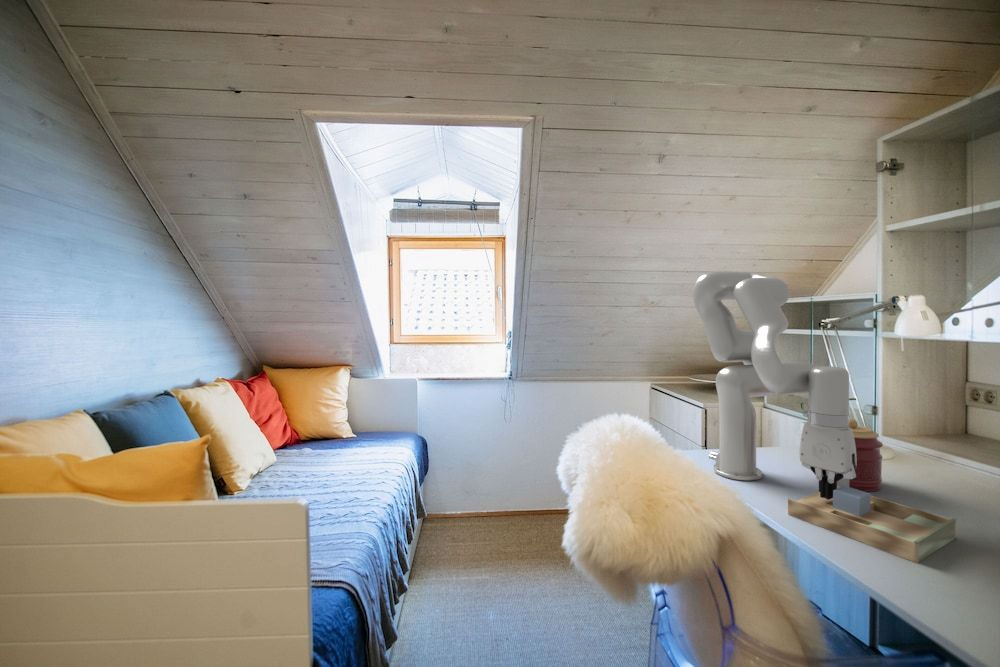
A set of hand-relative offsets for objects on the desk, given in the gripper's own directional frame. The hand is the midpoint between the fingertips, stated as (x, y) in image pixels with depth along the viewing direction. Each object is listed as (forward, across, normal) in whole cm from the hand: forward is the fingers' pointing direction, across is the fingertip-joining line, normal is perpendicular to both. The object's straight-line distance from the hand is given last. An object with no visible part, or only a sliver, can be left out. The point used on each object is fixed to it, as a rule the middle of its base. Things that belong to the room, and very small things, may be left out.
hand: (827, 497), depth 103 cm
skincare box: (+4, -5, +14) cm, 15 cm away
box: (+4, +8, 0) cm, 8 cm away
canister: (+4, -6, +25) cm, 26 cm away
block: (+1, +5, 0) cm, 5 cm away
